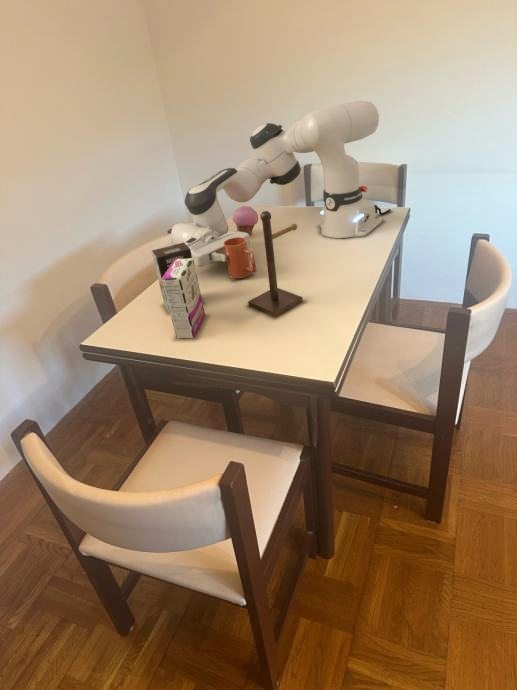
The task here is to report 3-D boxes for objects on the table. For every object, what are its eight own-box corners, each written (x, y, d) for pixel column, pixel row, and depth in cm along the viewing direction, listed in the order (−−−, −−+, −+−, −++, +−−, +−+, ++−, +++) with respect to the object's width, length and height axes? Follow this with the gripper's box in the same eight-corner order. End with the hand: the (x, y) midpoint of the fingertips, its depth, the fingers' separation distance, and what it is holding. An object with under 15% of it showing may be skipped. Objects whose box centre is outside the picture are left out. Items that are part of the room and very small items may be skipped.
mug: (225, 275, 143) (219, 243, 138) (240, 267, 147) (235, 235, 141) (248, 283, 137) (243, 250, 131) (264, 274, 140) (260, 242, 134)
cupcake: (254, 228, 175) (256, 202, 168) (258, 240, 168) (260, 213, 162) (230, 229, 173) (231, 202, 167) (233, 240, 167) (234, 213, 160)
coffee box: (170, 314, 129) (156, 257, 120) (164, 304, 134) (150, 249, 125) (202, 304, 131) (190, 248, 122) (195, 295, 136) (183, 241, 127)
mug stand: (287, 285, 135) (279, 196, 121) (314, 294, 128) (309, 202, 115) (248, 306, 127) (235, 214, 114) (275, 317, 121) (264, 221, 107)
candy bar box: (187, 316, 126) (174, 258, 118) (206, 316, 125) (194, 257, 117) (175, 339, 117) (159, 278, 108) (194, 339, 116) (180, 277, 107)
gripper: (234, 242, 156) (263, 251, 147) (183, 265, 145) (211, 276, 136) (231, 223, 152) (261, 231, 143) (178, 245, 142) (207, 255, 133)
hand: (236, 253), depth 140 cm, fingers closed on mug, 6 cm apart
